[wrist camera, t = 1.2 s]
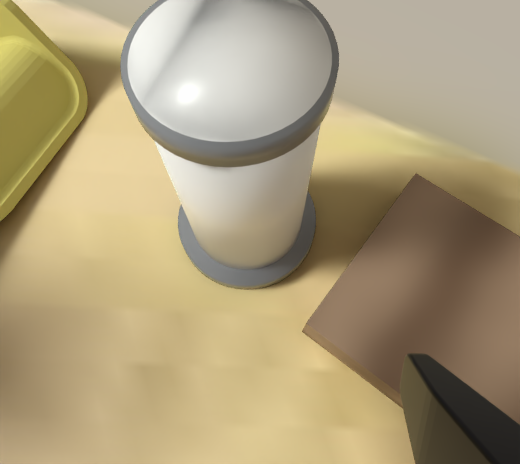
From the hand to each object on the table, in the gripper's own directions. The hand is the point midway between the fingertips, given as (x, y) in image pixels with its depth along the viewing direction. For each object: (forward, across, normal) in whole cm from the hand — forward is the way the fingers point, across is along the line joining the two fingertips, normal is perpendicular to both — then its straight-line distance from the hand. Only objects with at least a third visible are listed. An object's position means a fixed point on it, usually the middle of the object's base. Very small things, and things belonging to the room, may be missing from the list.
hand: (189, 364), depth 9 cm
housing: (+16, 0, +3) cm, 16 cm away
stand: (+12, -10, +7) cm, 17 cm away
